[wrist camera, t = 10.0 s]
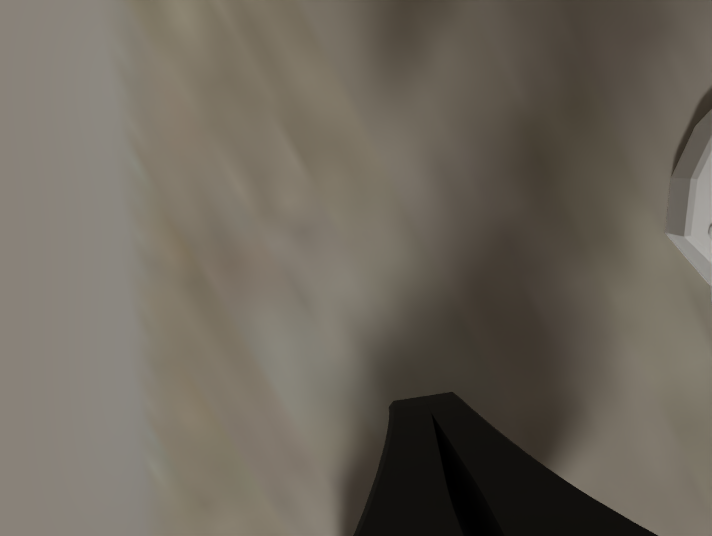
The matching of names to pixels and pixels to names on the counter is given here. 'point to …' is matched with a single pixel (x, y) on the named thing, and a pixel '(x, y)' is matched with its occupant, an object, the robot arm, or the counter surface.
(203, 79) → the counter surface
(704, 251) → the lid
